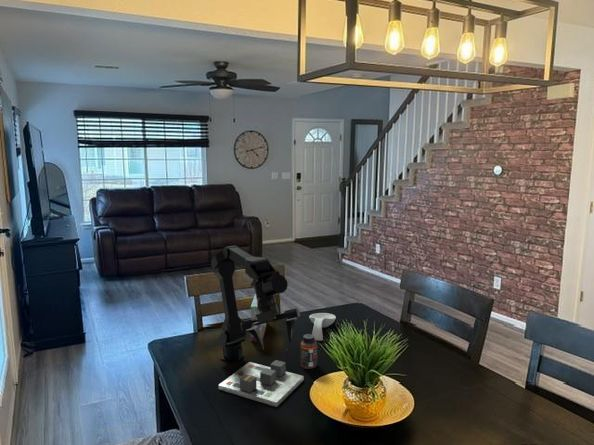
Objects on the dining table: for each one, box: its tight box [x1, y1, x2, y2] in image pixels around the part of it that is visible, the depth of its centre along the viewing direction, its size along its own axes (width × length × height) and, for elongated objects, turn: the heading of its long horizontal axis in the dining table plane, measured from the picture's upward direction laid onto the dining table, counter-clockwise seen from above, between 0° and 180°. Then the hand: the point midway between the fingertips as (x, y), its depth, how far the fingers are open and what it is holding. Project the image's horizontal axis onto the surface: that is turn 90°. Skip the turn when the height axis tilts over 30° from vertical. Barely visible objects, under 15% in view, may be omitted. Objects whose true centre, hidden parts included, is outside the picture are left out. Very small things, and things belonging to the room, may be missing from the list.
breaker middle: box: [260, 368, 276, 386], centre depth 147 cm, size 4×4×4 cm
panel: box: [218, 361, 305, 408], centre depth 149 cm, size 22×18×2 cm
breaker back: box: [269, 359, 287, 377], centre depth 153 cm, size 4×4×4 cm
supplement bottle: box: [300, 333, 318, 370], centre depth 161 cm, size 6×6×11 cm
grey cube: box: [240, 374, 257, 392], centre depth 143 cm, size 4×4×4 cm
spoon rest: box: [308, 312, 337, 342], centre depth 193 cm, size 24×12×7 cm, turn 171°
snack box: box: [250, 293, 268, 342], centre depth 191 cm, size 21×6×15 cm, turn 179°
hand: (276, 346), depth 141 cm, fingers open, 9 cm apart
